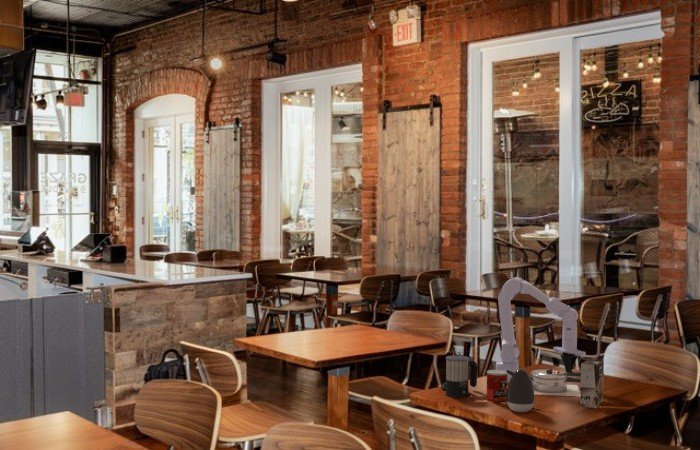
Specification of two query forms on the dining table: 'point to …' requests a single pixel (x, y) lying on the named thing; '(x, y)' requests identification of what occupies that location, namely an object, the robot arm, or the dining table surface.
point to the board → (571, 391)
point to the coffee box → (591, 383)
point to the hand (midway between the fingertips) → (568, 372)
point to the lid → (553, 374)
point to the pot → (552, 384)
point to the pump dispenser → (520, 391)
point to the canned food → (496, 385)
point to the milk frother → (459, 376)
